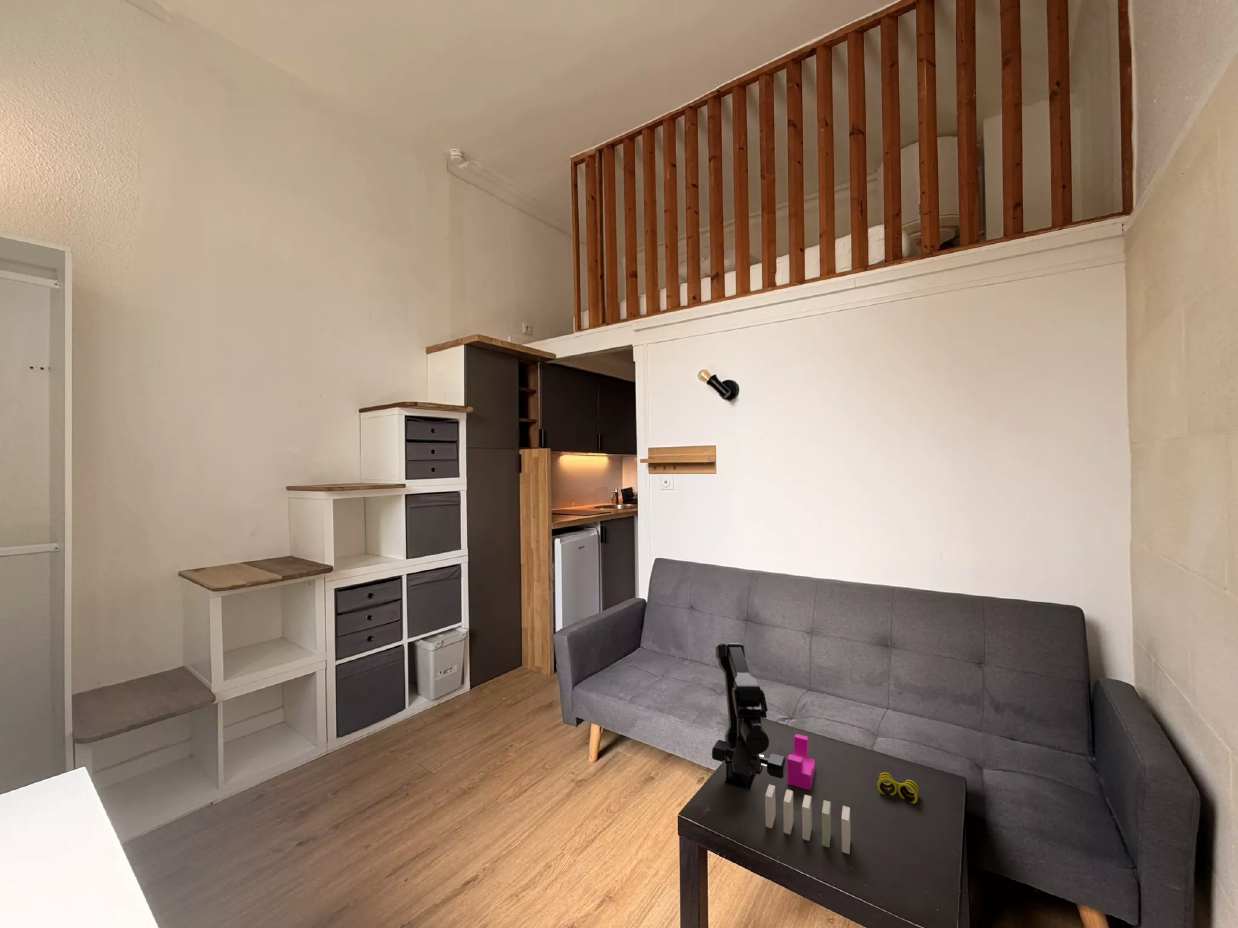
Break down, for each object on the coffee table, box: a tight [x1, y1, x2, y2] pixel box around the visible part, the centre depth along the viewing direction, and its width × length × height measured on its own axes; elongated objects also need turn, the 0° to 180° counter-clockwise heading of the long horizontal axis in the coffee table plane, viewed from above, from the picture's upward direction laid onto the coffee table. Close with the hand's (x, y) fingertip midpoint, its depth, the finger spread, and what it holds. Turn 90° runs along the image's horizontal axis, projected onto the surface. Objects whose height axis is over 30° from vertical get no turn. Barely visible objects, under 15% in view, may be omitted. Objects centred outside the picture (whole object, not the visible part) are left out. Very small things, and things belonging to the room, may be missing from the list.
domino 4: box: [840, 805, 851, 855], centre depth 119 cm, size 2×5×8 cm, turn 152°
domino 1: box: [764, 783, 777, 829], centre depth 128 cm, size 2×5×8 cm, turn 152°
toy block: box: [787, 733, 816, 791], centre depth 147 cm, size 15×6×8 cm, turn 151°
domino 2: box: [783, 789, 794, 835], centre depth 125 cm, size 2×5×8 cm, turn 152°
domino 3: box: [801, 794, 813, 842], centre depth 123 cm, size 2×5×8 cm, turn 152°
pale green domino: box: [821, 799, 832, 848], centre depth 121 cm, size 2×5×8 cm, turn 152°
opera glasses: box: [876, 772, 919, 805], centre depth 137 cm, size 10×5×5 cm, turn 56°
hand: (748, 789), depth 130 cm, fingers closed
